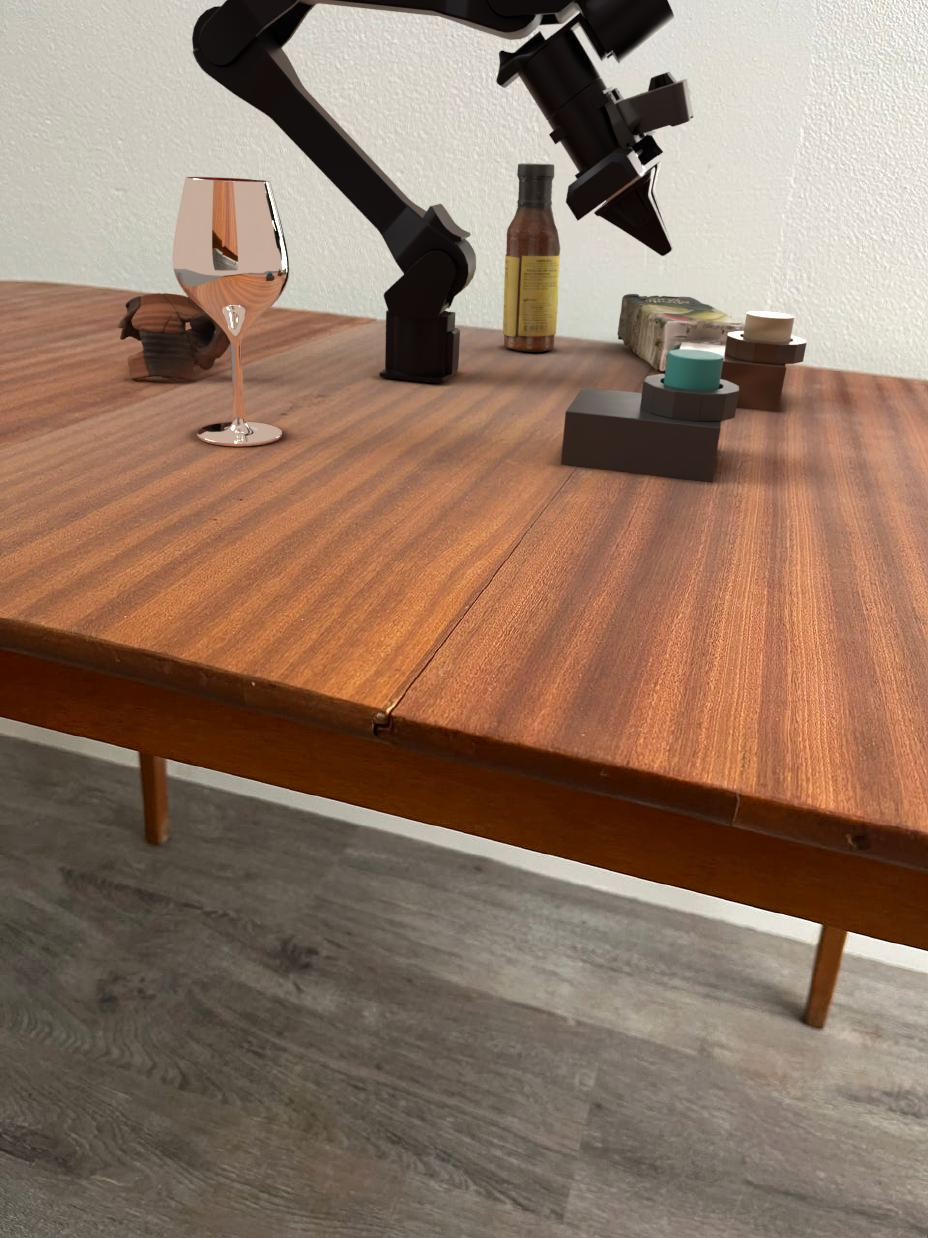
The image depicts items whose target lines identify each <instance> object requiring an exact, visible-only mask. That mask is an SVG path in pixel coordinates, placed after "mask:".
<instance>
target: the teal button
mask: <svg viewBox="0 0 928 1238" xmlns="http://www.w3.org/2000/svg"><path fill="white" fill-rule="evenodd" d="M723 359H724V357H723V356H722V355H720V354H717V353H713V352H709V351H702V350H691V349H677V350H671V351H669V352H668V356H667V364H666V371H664V374H665V378H664V384H665V385H667V386H671V387H676V388H681V389H690V390H700V391H701V390H718V389H719V384H720V378H721V372H722V366H723Z"/></svg>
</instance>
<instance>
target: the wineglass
mask: <svg viewBox="0 0 928 1238" xmlns="http://www.w3.org/2000/svg"><path fill="white" fill-rule="evenodd" d="M271 183H272V182H271V181H270V180H264V179H256V178H255V179H254V178H253V179H252V178H241V177H240V178H239V177H237V178H236V177H218V176H217V177H216V176H185V177H184V182H183V186H182V192H181V196H180V203H179V206H178V207H179V208H178V213H177V219H176V224H175V230H174V236H173V243H172V244H173V245H172V254H171V255H172V256H171V257H172V260H171V261H172V269H173V273H174V276H175V278H176V279H175V280H176V281H177V283H178V285H179V286H180V288H181V290H182V291H183V292H184V293H185V296H186V297H189V298H190V299H191V300H192V301H193V302H194V303H195V304H196V305H197V306H198V307H199V308H200V309H201V310H202V311H203V312H205V313H206V314H207V315H208V316H209V317H210V318H211V319H212V320H214V321H215V322H216V323H217V324H218V325H219V326H220V327H221V328H222V330H223V331H224V332H225V334H226V335H227V337H228V339H229V341H230V345H229V347H230V348H229V349H230V364H231V365H230V366H231V380H232V381H231V384H232V420H231V421H226V422H217V423H212V424H208V425H205V426H203V427H200V428H199V429H198V430H197V432H196V436H197V438H198V439H199V440H200V441H202V442H205V443H207V444H212V445H216V446H225V447H252V446H253V447H254V446H261V445H262V446H263V445H267V444H270V443H274V442H277V441H278V440H280V439H281V438H282V436H283V431H282V430H281V429H280V428H278V427H277V426H274V425H271V424H268V423H262V422H254V421H247V418H246V411H245V409H246V408H245V397H244V396H245V395H244V377H243V376H244V375H243V354H242V353H243V352H242V351H243V349H242V342H243V339H244V337H245V335H246V334H247V332H248V331H249V329H250V328H251V327H252V325H254V324H255V323H256V322H257V321H258V320H259V319H260V318H261V317H262V316H263V315H264V314H265V313H266V312H268V310H269V309H270V308H272V306H273V305H274V304H275V303H276V302H277V301H278V300H279V299H280V297H281V296H282V294H283V292H284V291H285V289H286V287H287V286H288V282H289V278H290V274H291V259H290V252H289V248H288V243H287V238H286V235H285V230H284V227H283V223H282V220H281V215H280V212H279V208H278V204H277V201H276V197H275V194H274V189H273V187H272V184H271Z"/></svg>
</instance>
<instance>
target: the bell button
mask: <svg viewBox="0 0 928 1238" xmlns="http://www.w3.org/2000/svg"><path fill="white" fill-rule="evenodd" d="M794 322H795V316H794V315H792V314H788V313H783V312H776V311H767V310H766V311H763V310H754V311H753V310H751V311H747V312H746V314H745V321H744V324H745V327H744V333H743V338H746V339H751V340H757V341H766V342H790V339H791V336H792V333H793V328H794V324H795V323H794Z"/></svg>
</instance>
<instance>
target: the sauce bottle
mask: <svg viewBox="0 0 928 1238" xmlns="http://www.w3.org/2000/svg"><path fill="white" fill-rule="evenodd" d="M516 172H517V174H516V176H517V179H518V197H517V201H516V203H517V208H516V211H515V214H514V217H513V219H512V220H511V222H510V224H509V225H508V227H507V230H506V248H505V249H506V251H505V252H506V253H505V255H504V256H505V257H504V282H503V284H504V285H503V315H502V316H503V317H502V335H504V336H503V337H504V338H503V345H504V347H505V348H506V349H509V350H514V351H517V352H524V353H525V352H526V353H540V352H542V353H543V352H547V351H551V350H553V349H554V347H555V335H556V334H557V325H558V304H559V288H560V287H559V285H560V266H561V265H560V263H561V244H560V238H559V237H560V236H559V233H558V228H557V226H556V223H555V217H554V213H553V208H552V206H553V201H552V200H553V199H552V197H553V195H552V194H553V180H554V178H555V164H554V163H532V162H524V163H518V164H517V171H516Z"/></svg>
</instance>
